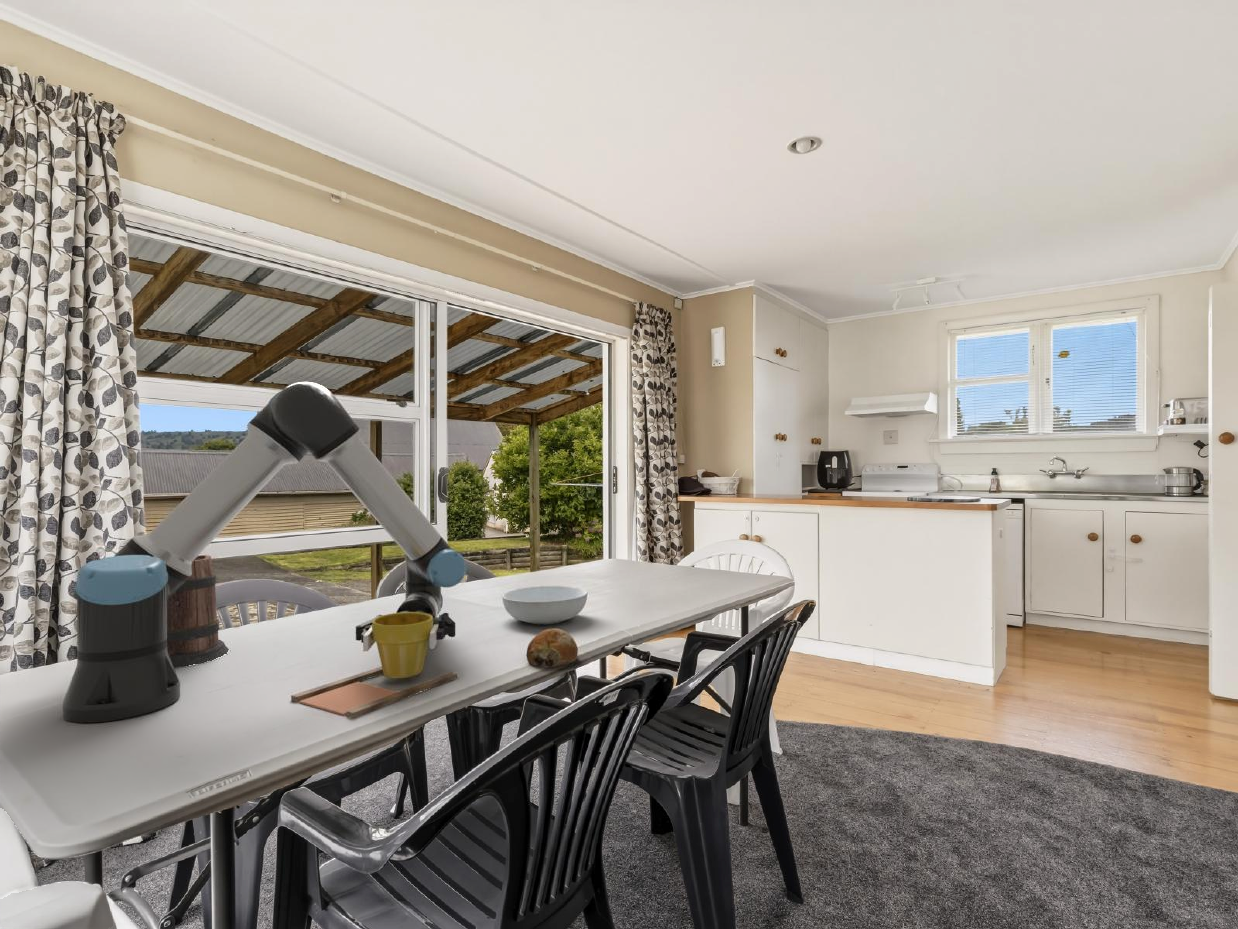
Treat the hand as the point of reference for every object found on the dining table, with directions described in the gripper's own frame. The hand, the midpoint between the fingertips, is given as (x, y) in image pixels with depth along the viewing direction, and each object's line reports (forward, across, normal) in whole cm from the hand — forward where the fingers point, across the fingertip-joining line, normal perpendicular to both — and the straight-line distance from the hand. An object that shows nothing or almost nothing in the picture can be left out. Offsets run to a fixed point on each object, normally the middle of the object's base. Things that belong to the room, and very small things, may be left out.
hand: (399, 642), depth 116 cm
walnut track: (0, +3, -8) cm, 9 cm away
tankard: (-30, +49, -8) cm, 58 cm away
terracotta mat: (+4, +7, -8) cm, 11 cm away
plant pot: (-4, 0, -7) cm, 8 cm away
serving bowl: (-46, -27, -8) cm, 54 cm away
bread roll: (-11, -27, -8) cm, 30 cm away
